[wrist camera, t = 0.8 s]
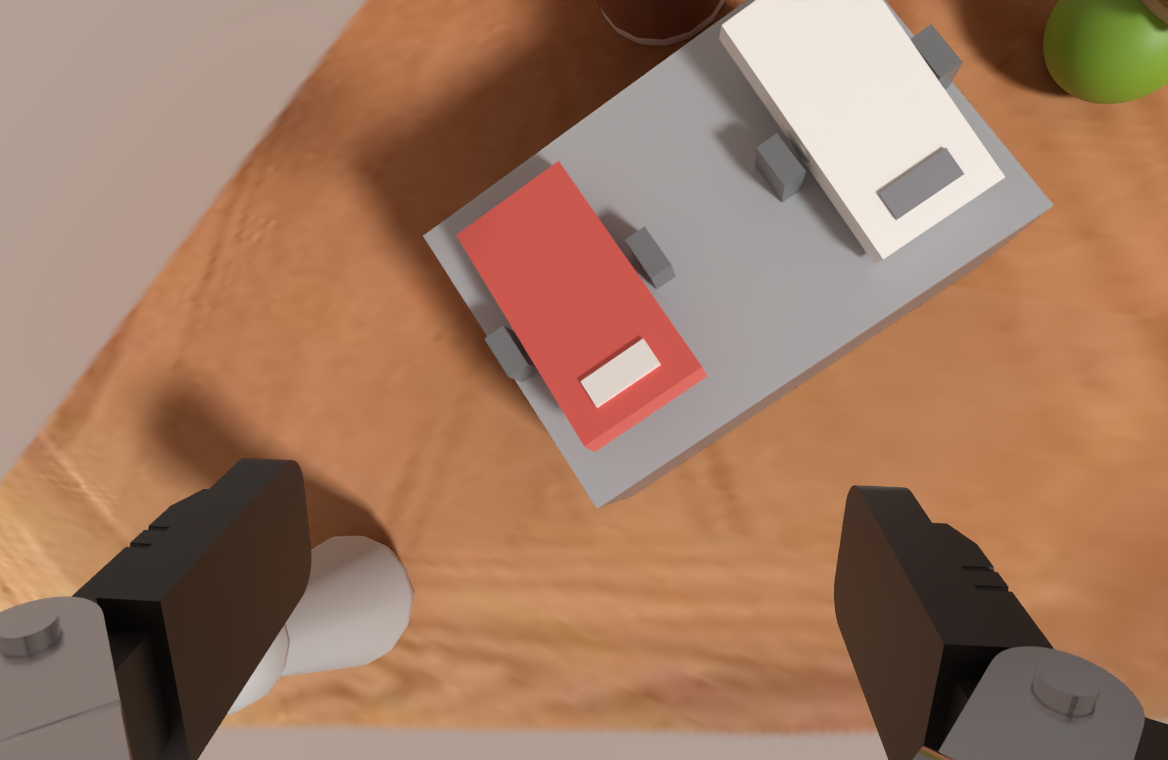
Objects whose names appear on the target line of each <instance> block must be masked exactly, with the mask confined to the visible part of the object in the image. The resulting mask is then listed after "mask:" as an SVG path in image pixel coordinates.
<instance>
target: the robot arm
mask: <svg viewBox="0 0 1168 760" xmlns="http://www.w3.org/2000/svg"><path fill="white" fill-rule="evenodd" d="M310 571H311V545H310V536H309V527H308V518H307V509H306V500H305V491H304V483H303V475H302V471H301V468H300V466H299V464H298V463H297V462H296V461H294V460H274V459H251V458H244V459H241V460H240V461H238V462H237V463H236V464H235V465H234V466H233V467H232V468H231V469H230V470H229V471H228V472H227V473H226V474H225V475H224V476H223V477H222V478H221V479H220V480H218V481H217V482H216V483H215V484H214V485H213V486H212V487H211V488H210V489H203V490H201V491H199V492H197V493H195V494H193V495H191V496H189V497H187V498H185V499H183V500H181V501H179V502H177V503H175V504H173V505H171V506H170V507H169V508H168V509H167V510H166V511H165V512H163V513H162V514H161V515H160V516H159V517H158V518H157V519H156V520H155V521H154V522H153V523H151V524H150V525H149V529H148V530H144V531H143V532H142V533H141V534H139V535H138V536H137V537H136V538H135V539H134V540H133V541H132V542H131V543H130V547H125V548H124V549H123V550H122V551H121V552H120V553H119V554H118V555H116V556H115V557H114V558H113V559H112V560H111V561H110V562H109V563H108V564H107V565H106V566H104V567H103V568H102V569H101V570H100V571H99V572H98V573H97V574H96V575H95V576H93V577H92V578H91V579H90V580H89V581H88V582H87V583H86V584H85V585H84V586H83V587H81V588H80V589H79V590H78V591H77V592H76V593H75V594H74V595H73V596H72V597H52V598H46V599H40V600H35V601H31V602H27V603H24V604H21V605H17V606H15V607H12V608H9V609H7V610H4V611H2V612H0V760H197V759H198V758H199V756H200V755H201V753H202V752H203V750H204V749H205V747H206V745H207V744H208V742H209V741H210V739H211V738H212V736H213V735H214V733H215V732H216V730H217V729H218V727H219V725H220V724H221V722H222V721H223V719H224V718H225V716H226V715H227V713H228V711H229V710H230V708H231V707H232V705H233V704H234V702H235V701H236V699H237V698H238V696H239V694H240V693H241V691H242V690H243V688H244V687H245V685H246V684H247V682H248V680H249V679H250V677H251V676H252V674H253V673H254V671H255V670H256V668H257V667H258V665H259V663H260V662H261V660H262V659H263V657H264V656H265V654H266V653H267V651H268V650H269V648H270V646H271V645H272V643H273V642H274V640H275V639H276V637H277V636H278V634H279V632H280V631H281V629H282V628H283V626H284V625H285V623H286V622H287V620H288V619H289V617H290V615H291V614H292V612H293V611H294V609H295V608H296V606H297V605H298V603H299V601H300V600H301V598H302V597H303V595H304V593H305V591H306V588H307V585H308V581H309V577H310ZM834 603H835V613H836V618H837V622H838V626H839V628H840V631H841V634H842V636H843V639H844V642H845V645H846V647H847V650H848V653H849V655H850V658H851V661H852V663H853V666H854V669H855V671H856V674H857V677H858V679H859V682H860V685H861V687H862V690H863V693H864V695H865V698H866V701H867V703H868V706H869V709H870V712H871V714H872V717H873V720H874V722H875V725H876V728H877V730H878V733H879V736H880V738H881V741H882V743H883V746H884V749H885V752H886V754H887V757H888V760H1168V724H1165V723H1162V722H1158V721H1155V720H1151V719H1149V718H1146V717H1145V715H1144V710H1143V707H1142V706H1141V704H1140V702H1139V700H1138V699H1137V697H1136V696H1135V695H1134V693H1133V692H1132V691H1131V690H1130V689H1129V688H1128V687H1127V686H1126V685H1125V684H1124V683H1123V682H1121V681H1120V680H1119V679H1118V678H1116V677H1115V676H1114V675H1112V674H1111V673H1109V672H1108V671H1106V670H1105V669H1103V668H1101V667H1099V666H1097V665H1095V664H1094V663H1092V662H1090V661H1087V660H1085V659H1083V658H1080V657H1078V656H1075V655H1072V654H1069V653H1066V652H1063V651H1059V650H1055V649H1054V648H1053V647H1052V645H1051V644H1050V643H1049V641H1048V640H1047V639H1046V637H1045V636H1044V635H1043V633H1042V632H1041V630H1040V629H1039V628H1038V626H1037V625H1036V624H1035V622H1034V621H1033V620H1032V618H1031V617H1030V616H1029V614H1028V613H1027V612H1026V610H1025V609H1024V607H1023V606H1022V605H1021V603H1020V602H1019V601H1018V599H1017V598H1016V597H1015V595H1014V594H1013V593H1012V592H1009V591H1008V586H1007V584H1006V583H1005V582H1004V580H1003V579H1002V578H1001V576H1000V575H999V574H998V572H994V567H993V565H992V564H991V563H990V561H989V560H988V559H987V557H986V556H985V555H984V553H983V552H982V551H981V549H980V548H979V546H978V545H977V544H976V543H974V542H973V541H971V540H970V539H969V538H967V537H966V536H964V535H963V534H961V533H960V532H958V531H957V530H955V529H954V528H953V527H951V526H950V525H948V524H943V523H932V522H931V521H930V519H929V518H928V516H927V515H926V513H925V512H924V510H923V509H922V507H921V506H920V504H919V503H918V501H917V500H916V498H915V497H914V495H913V494H912V492H911V491H910V490H909V489H908V488H903V487H879V486H856V485H854V486H852V487H851V488H850V490H849V493H848V496H847V500H846V506H845V513H844V519H843V526H842V533H841V540H840V547H839V554H838V561H837V568H836V575H835V583H834Z"/></svg>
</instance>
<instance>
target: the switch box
mask: <svg viewBox="0 0 1168 760" xmlns="http://www.w3.org/2000/svg"><path fill="white" fill-rule="evenodd" d="M754 1H755V0H746V1H745V2H743V3H742V4H741V5H739V6H738V7H737V8H735V9H734V10H732V11H731V12H730V13H728V14H727V15H726V16H724V17H723V18H722V19H720V20H719V21H717V22H716V23H715V24H713V25H712V26H711V27H709V28H708V29H706V30H705V31H704V32H702V33H701V34H700V35H698V36H697V37H695V38H694V39H693V40H691V41H690V42H689V43H687V44H686V45H684V46H683V47H682V48H680V49H679V50H678V51H676V52H675V53H673V54H672V55H671V56H669V57H668V58H667V59H665V60H664V61H662V62H661V63H660V64H658V65H657V66H656V67H654V68H653V69H651V70H650V71H649V72H647V73H646V74H645V75H643V76H642V77H640V78H639V79H638V80H636V81H635V82H634V83H632V84H631V85H629V86H628V87H627V88H625V89H624V90H623V91H621V92H620V93H618V94H617V95H616V96H614V97H613V98H612V99H610V100H609V101H607V102H606V103H605V104H603V105H602V106H601V107H599V108H598V109H596V110H595V111H594V112H592V113H591V114H590V115H588V116H587V117H585V118H584V119H583V120H581V121H580V122H579V123H577V124H576V125H575V126H573V127H572V128H570V129H569V130H568V131H566V132H565V133H564V134H562V135H561V136H559V137H558V138H557V139H555V140H554V141H553V142H551V143H550V144H548V145H547V146H546V147H544V148H543V149H542V150H540V151H539V152H537V153H536V154H535V155H533V156H532V157H531V158H529V159H528V160H526V161H525V162H524V163H522V164H521V165H520V166H518V167H517V168H515V169H514V170H513V171H511V172H510V173H509V174H507V175H506V176H504V177H503V178H502V179H500V180H499V181H498V182H496V183H495V184H493V185H492V186H491V187H489V188H488V189H487V190H485V191H484V192H482V193H481V194H480V195H478V196H477V197H476V198H474V199H473V200H471V201H470V202H469V203H467V204H466V205H465V206H463V207H462V208H460V209H459V210H458V211H456V212H455V213H454V214H452V215H451V216H449V217H448V218H447V219H445V220H444V221H443V222H441V223H440V224H438V225H437V226H436V227H434V228H433V229H432V230H430V231H429V232H428V233H426V234H425V235H423V237H424V238H425V240H426V241H427V243H428V245H429V246H430V248H431V249H432V251H433V252H434V254H435V256H436V257H437V259H438V260H439V262H440V263H441V265H442V267H443V268H444V270H445V271H446V273H447V274H448V276H449V278H450V279H451V281H452V282H453V284H454V285H455V287H456V289H457V290H458V292H459V293H460V295H461V296H462V298H463V299H464V301H465V303H466V304H467V306H468V307H469V309H470V310H471V312H472V314H473V315H474V317H475V318H476V320H477V321H478V323H479V325H480V326H481V328H482V329H483V331H484V332H485V334H486V336H487V337H486V338H485V341H486V343H487V344H488V346H489V347H490V349H491V350H492V352H493V354H494V355H495V357H496V358H497V360H498V361H499V363H500V365H501V366H502V368H503V369H504V371H505V372H506V374H507V376H508V377H509V378H512V379H515V381H516V383H517V384H518V386H519V387H520V389H521V390H522V392H523V394H524V395H525V397H526V398H527V400H528V401H529V403H530V405H531V406H532V408H533V409H534V411H535V412H536V414H537V415H538V417H539V419H540V420H541V422H542V423H543V425H544V426H545V428H546V430H547V431H548V433H549V434H550V436H551V437H552V439H553V441H554V442H555V444H556V445H557V447H558V448H559V450H560V452H561V453H562V455H563V456H564V458H565V459H566V461H567V462H568V464H569V466H570V467H571V469H572V470H573V472H574V473H575V475H576V477H577V478H578V480H579V481H580V483H581V484H582V486H583V488H584V489H585V491H586V492H587V494H588V495H589V497H590V499H591V500H592V502H593V503H594V505H595V506H596V508H600V507H603V506H606V505H609V504H611V503H614V502H617V501H620V500H623V499H625V498H628V497H631V496H633V495H634V494H636V493H637V492H639V491H640V490H642V489H643V488H645V487H646V486H648V485H650V484H651V483H653V482H654V481H656V480H657V479H659V478H660V477H662V476H663V475H665V474H666V473H668V472H669V471H671V470H672V469H674V468H675V467H677V466H678V465H680V464H681V463H683V462H684V461H686V460H687V459H689V458H690V457H692V456H693V455H695V454H696V453H698V452H699V451H701V450H702V449H704V448H705V447H707V446H708V445H710V444H711V443H713V442H714V441H716V440H717V439H719V438H720V437H722V436H724V435H725V434H727V433H728V432H730V431H731V430H733V429H734V428H736V427H737V426H739V425H740V424H742V423H743V422H745V421H746V420H748V419H749V418H751V417H752V416H754V415H755V414H757V413H758V412H760V411H761V410H763V409H764V408H766V407H767V406H769V405H770V404H772V403H773V402H775V401H776V400H778V399H779V398H781V397H782V396H784V395H785V394H787V393H788V392H790V391H791V390H793V389H794V388H796V387H797V386H799V385H801V384H802V383H804V382H805V381H807V380H808V379H810V378H811V377H813V376H814V375H816V374H817V373H819V372H820V371H822V370H823V369H825V368H826V367H828V366H829V365H831V364H832V363H834V362H835V361H837V360H838V359H840V358H841V357H843V356H844V355H846V354H847V353H849V352H850V351H852V350H853V349H855V348H856V347H858V346H859V345H861V344H862V343H864V342H865V341H867V340H868V339H870V338H871V337H873V336H875V335H876V334H878V333H879V332H881V331H882V330H884V329H885V328H887V327H888V326H890V325H891V324H893V323H894V322H896V321H897V320H899V319H900V318H902V317H903V316H905V315H906V314H908V313H909V312H911V311H912V310H914V309H915V308H917V307H918V306H920V305H921V304H923V303H924V302H926V301H927V300H929V299H930V298H932V297H933V296H935V295H936V294H938V293H939V292H941V291H942V290H944V289H945V288H947V287H949V286H950V285H952V284H953V283H955V282H956V281H958V280H959V279H961V278H962V277H964V276H965V275H967V274H968V273H970V272H971V271H973V270H974V269H976V268H977V267H978V266H980V265H981V264H982V263H983V262H984V261H986V260H987V259H988V258H989V257H991V256H992V255H993V254H994V253H996V252H997V251H998V250H999V249H1000V248H1002V247H1003V246H1004V245H1005V244H1007V243H1008V242H1009V241H1010V240H1012V239H1013V238H1014V237H1015V236H1017V235H1018V234H1019V233H1020V232H1021V231H1023V230H1024V229H1025V228H1026V227H1028V226H1029V225H1030V224H1031V223H1033V222H1034V221H1035V220H1036V219H1037V218H1039V217H1040V216H1041V215H1042V214H1044V213H1045V212H1046V211H1047V210H1049V209H1050V208H1051V207H1052V206H1054V205H1053V204H1052V203H1051V201H1050V200H1049V199H1048V198H1047V196H1046V195H1045V194H1044V193H1043V192H1042V190H1041V189H1040V188H1039V187H1038V186H1037V184H1036V183H1035V182H1034V181H1033V179H1032V178H1031V177H1030V176H1029V175H1028V173H1027V172H1026V171H1025V170H1024V169H1023V167H1022V166H1021V165H1020V164H1019V162H1018V161H1017V160H1016V159H1015V158H1014V156H1013V155H1012V154H1011V153H1010V152H1009V150H1008V149H1007V148H1006V147H1005V145H1004V144H1003V143H1002V142H1001V141H1000V139H999V138H998V137H997V136H996V135H995V133H994V132H993V131H992V130H991V128H990V127H989V126H988V125H987V124H986V122H985V121H984V120H983V119H982V118H981V116H980V115H979V114H978V113H977V111H976V110H975V109H974V108H973V107H972V105H971V104H970V103H969V102H968V101H967V99H966V98H965V97H964V96H963V94H962V93H961V92H960V91H959V90H958V88H957V87H956V86H955V85H954V84H953V82H952V80H953V79H954V77H955V75H956V73H957V71H958V70H959V68H960V66H961V64H962V61H961V60H960V58H959V57H958V56H957V55H956V54H955V52H954V51H953V50H952V49H951V48H950V46H949V45H948V44H947V43H946V42H945V40H944V39H943V38H942V37H941V36H940V34H939V33H938V32H937V31H936V30H935V28H934V27H933V26H932V25H930V26H928V27H927V28H925V29H924V30H922V31H921V32H920V33H918V34H917V35H915V36H914V35H913V34H912V33H911V31H910V30H909V29H908V28H907V26H906V25H905V24H904V23H903V22H902V20H901V19H900V18H899V17H898V16H897V14H896V13H895V12H894V11H893V9H892V8H891V7H890V6H889V5H888V3H887V2H886V1H885V0H883V1H884V3H885V4H886V5H887V7H888V8H889V10H890V11H891V13H892V14H893V16H894V17H895V18H896V20H897V21H898V23H899V24H900V26H901V27H902V29H903V30H904V31H905V33H906V34H907V36H908V37H909V39H910V40H911V41H912V43H913V44H914V46H915V47H916V49H917V50H918V52H919V53H920V54H921V56H922V57H923V59H924V60H925V62H926V63H927V65H928V66H929V67H930V69H931V70H932V72H933V73H934V75H935V76H936V78H937V79H938V80H939V82H940V83H941V85H942V86H943V88H944V89H945V91H946V92H947V93H948V95H949V96H950V98H951V99H952V101H953V102H954V104H955V105H956V106H957V108H958V109H959V111H960V112H961V114H962V115H963V117H964V118H965V119H966V121H967V122H968V124H969V125H970V127H971V128H972V130H973V131H974V132H975V134H976V135H977V137H978V138H979V140H980V141H981V143H982V144H983V145H984V147H985V148H986V150H987V151H988V153H989V154H990V156H991V157H992V158H993V160H994V161H995V163H996V164H997V166H998V167H999V169H1000V170H1001V171H1002V173H1003V174H1004V176H1005V178H1004V179H1002V180H1001V181H999V182H998V183H996V184H995V185H993V186H992V187H990V188H989V189H987V190H986V191H984V192H983V193H981V194H980V195H978V196H977V197H975V198H974V199H972V200H971V201H969V202H968V203H966V204H965V205H963V206H962V207H960V208H959V209H958V210H956V211H955V212H953V213H952V214H950V215H949V216H947V217H946V218H944V219H943V220H941V221H940V222H938V223H937V224H935V225H934V226H932V227H931V228H929V229H928V230H926V231H925V232H923V233H922V234H920V235H919V236H917V237H916V238H914V239H913V240H911V241H910V242H908V243H907V244H906V245H904V246H903V247H901V248H900V249H898V250H897V251H895V252H894V253H892V254H891V255H889V256H888V257H886V258H885V259H883V260H880V261H877V262H875V263H873V261H872V260H871V258H870V257H869V256H868V254H867V253H866V251H865V250H864V248H863V247H862V245H861V244H860V243H859V241H858V240H857V238H856V237H855V235H854V234H853V232H852V231H851V229H850V228H849V227H848V225H847V224H846V222H845V221H844V219H843V218H842V216H841V215H840V214H839V212H838V211H837V209H836V208H835V206H834V205H833V203H832V202H831V201H830V199H829V198H828V196H827V195H826V193H825V192H824V190H823V189H822V187H821V186H820V185H819V183H818V182H817V180H816V179H815V177H814V176H813V174H812V173H811V172H810V170H809V169H808V167H807V166H806V164H805V163H804V161H803V160H802V158H801V157H800V156H799V154H798V153H797V151H796V150H795V148H794V147H793V145H792V144H791V143H790V141H789V140H788V138H787V137H786V135H785V134H784V132H783V131H782V129H781V128H780V127H779V125H778V124H777V122H776V121H775V119H774V118H773V116H772V115H771V114H770V112H769V111H768V109H767V108H766V106H765V105H764V103H763V102H762V100H761V99H760V98H759V96H758V95H757V93H756V92H755V90H754V89H753V87H752V86H751V85H750V83H749V82H748V80H747V79H746V77H745V76H744V74H743V73H742V72H741V70H740V69H739V67H738V66H737V64H736V63H735V61H734V60H733V58H732V57H731V56H730V54H729V53H728V51H727V50H726V48H725V47H724V45H723V44H722V43H721V41H720V40H719V36H720V31H721V26H722V24H724V23H725V22H727V21H728V20H729V19H731V18H732V17H733V16H735V15H736V14H738V13H739V12H740V11H742V10H743V9H744V8H746V7H747V6H749V5H750V4H751V3H753V2H754ZM558 161H559V162H560V163H561V165H562V166H563V168H564V169H565V171H566V172H567V174H568V175H569V176H570V178H571V179H572V181H573V182H574V184H575V185H576V186H577V188H578V189H579V191H580V192H581V194H582V195H583V196H584V198H585V199H586V201H587V202H588V204H589V205H590V207H591V208H592V209H593V211H594V212H595V214H596V215H597V217H598V218H599V219H600V221H601V222H602V224H603V225H604V227H605V228H606V229H607V231H608V232H609V234H610V235H611V237H612V238H613V240H614V241H615V242H616V244H617V245H618V247H619V248H620V250H621V251H622V252H623V254H624V255H625V257H626V258H627V260H628V261H629V262H630V264H631V265H632V267H633V268H634V270H635V271H636V273H637V274H638V275H639V277H640V278H641V280H642V281H643V283H644V284H645V285H646V287H647V288H648V290H649V291H650V293H651V294H652V295H653V297H654V298H655V300H656V301H657V303H658V304H659V306H660V307H661V308H662V310H663V311H664V313H665V314H666V316H667V317H668V318H669V320H670V321H671V323H672V324H673V326H674V327H675V328H676V330H677V331H678V333H679V334H680V336H681V337H682V339H683V340H684V341H685V343H686V344H687V346H688V347H689V349H690V350H691V351H692V353H693V354H694V356H695V357H696V359H697V360H698V361H699V363H700V364H701V366H702V367H703V369H704V371H705V372H706V374H707V377H706V378H704V379H703V380H701V381H700V382H698V383H697V384H695V385H694V386H692V387H691V388H689V389H688V390H686V391H685V392H683V393H682V394H680V395H679V396H677V397H676V398H674V399H673V400H672V401H670V402H669V403H667V404H666V405H664V406H663V407H661V408H660V409H658V410H657V411H655V412H654V413H652V414H651V415H649V416H648V417H646V418H645V419H643V420H642V421H640V422H639V423H637V424H636V425H634V426H633V427H631V428H630V429H628V430H627V431H625V432H624V433H623V434H621V435H620V436H618V437H617V438H615V439H614V440H612V441H611V442H609V443H608V444H606V445H605V446H603V447H602V448H600V449H599V450H597V451H596V452H593V451H591V450H590V449H588V448H586V447H584V445H583V444H582V442H581V440H580V439H579V437H578V435H577V434H576V432H575V431H574V429H573V427H572V426H571V424H570V422H569V421H568V419H567V417H566V416H565V414H564V412H563V411H562V409H561V407H560V406H559V404H558V403H557V401H556V399H555V398H554V396H553V394H552V393H551V391H550V389H549V388H548V386H547V384H546V383H545V381H544V379H543V378H542V376H541V374H540V373H539V371H538V370H537V368H536V366H535V365H534V363H533V361H532V360H531V358H530V356H529V355H528V353H527V351H526V350H525V348H524V346H523V345H522V343H521V341H520V340H519V338H518V337H517V335H516V333H515V332H514V330H513V328H512V327H511V325H510V323H509V322H508V320H507V318H506V317H505V315H504V313H503V312H502V310H501V309H500V307H499V305H498V304H497V302H496V300H495V299H494V297H493V295H492V294H491V292H490V290H489V289H488V287H487V285H486V284H485V282H484V280H483V279H482V277H481V276H480V274H479V272H478V271H477V269H476V267H475V266H474V264H473V262H472V261H471V259H470V257H469V256H468V254H467V252H466V251H465V249H464V248H463V246H462V244H461V243H460V241H459V239H458V238H457V236H456V235H457V234H458V233H460V232H461V231H462V230H464V229H465V228H467V227H468V226H469V225H471V224H472V223H473V222H475V221H476V220H478V219H479V218H480V217H482V216H483V215H485V214H486V213H487V212H489V211H490V210H491V209H493V208H494V207H496V206H497V205H498V204H500V203H501V202H502V201H504V200H505V199H507V198H508V197H509V196H511V195H512V194H514V193H515V192H516V191H518V190H519V189H520V188H522V187H523V186H525V185H526V184H527V183H529V182H530V181H531V180H533V179H534V178H536V177H537V176H538V175H540V174H541V173H543V172H544V171H545V170H547V169H548V168H549V167H551V166H552V165H554V164H555V163H556V162H558Z"/></svg>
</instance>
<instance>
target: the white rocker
mask: <svg viewBox="0 0 1168 760" xmlns="http://www.w3.org/2000/svg"><path fill="white" fill-rule="evenodd" d="M719 40H720V41H721V43H722V44H723V45H724V47H725V48H726V50H727V51H728V53H729V54H730V56H731V57H732V58H733V60H734V61H735V63H736V64H737V66H738V67H739V69H740V70H741V72H742V73H743V74H744V76H745V77H746V79H747V80H748V82H749V83H750V85H751V86H752V87H753V89H754V90H755V92H756V93H757V95H758V96H759V98H760V99H761V100H762V102H763V103H764V105H765V106H766V108H767V109H768V111H769V112H770V114H771V115H772V116H773V118H774V119H775V121H776V122H777V124H778V125H779V127H780V128H781V129H782V131H783V132H784V134H785V135H786V137H787V138H788V140H789V141H790V143H791V144H792V145H793V147H794V148H795V150H796V151H797V153H798V154H799V156H800V157H801V158H802V160H803V161H804V163H805V164H806V166H807V167H808V169H809V170H810V172H811V173H812V174H813V176H814V177H815V179H816V180H817V182H818V183H819V185H820V186H821V187H822V189H823V190H824V192H825V193H826V195H827V196H828V198H829V199H830V201H831V202H832V203H833V205H834V206H835V208H836V209H837V211H838V212H839V214H840V215H841V216H842V218H843V219H844V221H845V222H846V224H847V225H848V227H849V228H850V229H851V231H852V232H853V234H854V235H855V237H856V238H857V240H858V241H859V243H860V244H861V245H862V247H863V248H864V250H865V251H866V253H867V254H868V256H869V257H870V258H871V260H872V261H873V263H875V262H877V261H880V260H883V259H885V258H886V257H888V256H889V255H891V254H892V253H894V252H895V251H897V250H898V249H900V248H901V247H903V246H904V245H906V244H907V243H908V242H910V241H911V240H913V239H914V238H916V237H917V236H919V235H920V234H922V233H923V232H925V231H926V230H928V229H929V228H931V227H932V226H934V225H935V224H937V223H938V222H940V221H941V220H943V219H944V218H946V217H947V216H949V215H950V214H952V213H953V212H955V211H956V210H958V209H959V208H960V207H962V206H963V205H965V204H966V203H968V202H969V201H971V200H972V199H974V198H975V197H977V196H978V195H980V194H981V193H983V192H984V191H986V190H987V189H989V188H990V187H992V186H993V185H995V184H996V183H998V182H999V181H1001V180H1002V179H1004V178H1005V176H1004V174H1003V173H1002V171H1001V170H1000V169H999V167H998V166H997V164H996V163H995V161H994V160H993V158H992V157H991V156H990V154H989V153H988V151H987V150H986V148H985V147H984V145H983V144H982V143H981V141H980V140H979V138H978V137H977V135H976V134H975V132H974V131H973V130H972V128H971V127H970V125H969V124H968V122H967V121H966V119H965V118H964V117H963V115H962V114H961V112H960V111H959V109H958V108H957V106H956V105H955V104H954V102H953V101H952V99H951V98H950V96H949V95H948V93H947V92H946V91H945V89H944V88H943V86H942V85H941V83H940V82H939V80H938V79H937V78H936V76H935V75H934V73H933V72H932V70H931V69H930V67H929V66H928V65H927V63H926V62H925V60H924V59H923V57H922V56H921V54H920V53H919V52H918V50H917V49H916V47H915V46H914V44H913V43H912V41H911V40H910V39H909V37H908V36H907V34H906V33H905V31H904V30H903V29H902V27H901V26H900V24H899V23H898V21H897V20H896V18H895V17H894V16H893V14H892V13H891V11H890V10H889V8H888V7H887V5H886V4H885V3H884V1H883V0H755V1H754V2H753V3H751V4H750V5H749V6H747V7H746V8H744V9H743V10H742V11H740V12H739V13H738V14H736V15H735V16H733V17H732V18H731V19H729V20H728V21H727V22H725V23H724V24H722V26H721V31H720V36H719Z"/></svg>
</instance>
